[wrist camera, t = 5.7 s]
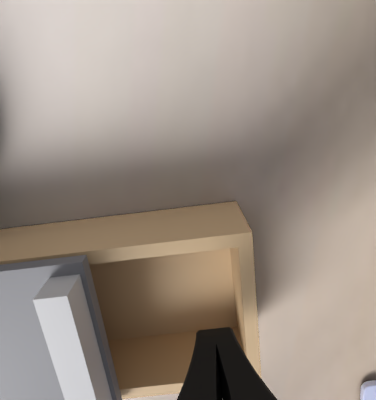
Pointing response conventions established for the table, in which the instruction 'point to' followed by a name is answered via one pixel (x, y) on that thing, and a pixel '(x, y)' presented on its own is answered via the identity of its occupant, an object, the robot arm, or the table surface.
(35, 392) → the lid
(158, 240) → the box
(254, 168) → the table surface
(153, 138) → the table surface
